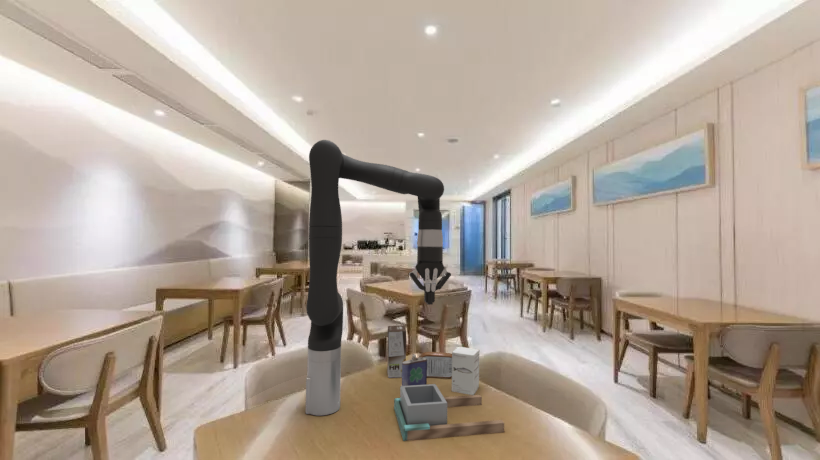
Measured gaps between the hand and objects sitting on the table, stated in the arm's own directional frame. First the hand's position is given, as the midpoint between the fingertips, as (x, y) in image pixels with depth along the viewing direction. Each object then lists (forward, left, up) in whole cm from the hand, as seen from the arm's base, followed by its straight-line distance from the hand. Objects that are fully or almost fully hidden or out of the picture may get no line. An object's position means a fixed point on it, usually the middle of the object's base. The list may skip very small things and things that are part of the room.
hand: (429, 304), depth 104 cm
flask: (-2, +12, -29) cm, 32 cm away
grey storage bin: (-4, -10, -29) cm, 31 cm away
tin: (+8, +20, -29) cm, 36 cm away
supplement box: (+14, +8, -29) cm, 33 cm away
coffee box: (-6, +26, -29) cm, 40 cm away
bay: (+2, -10, -29) cm, 31 cm away
